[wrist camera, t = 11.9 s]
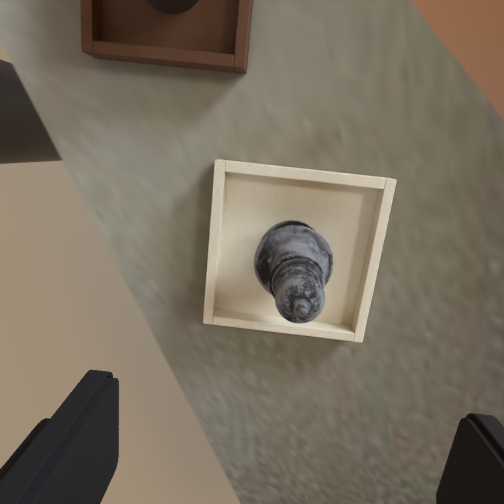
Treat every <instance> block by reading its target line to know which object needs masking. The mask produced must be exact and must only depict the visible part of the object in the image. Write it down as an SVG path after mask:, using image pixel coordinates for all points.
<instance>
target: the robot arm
mask: <svg viewBox="0 0 504 504" xmlns="http://www.w3.org/2000/svg"><path fill="white" fill-rule="evenodd" d="M118 453H119V381H118V379H117V378H113V375H112V373H111V372H107V371H98V370H89V371H88V372H87V373H86V374H85V376H84V377H83V378H82V379H81V381H80V382H79V383H78V384H77V386H76V387H75V388H74V389H73V391H72V392H71V393H70V394H69V396H68V397H67V398H66V399H65V401H64V402H63V403H62V405H61V406H60V407H59V408H58V410H57V411H56V412H55V414H54V415H53V416H52V417H51V418H50V419H47V418H45V419H43V420H41V422H40V423H38V424H37V425H36V427H35V428H34V429H33V430H32V431H31V433H30V434H29V435H28V437H27V438H26V439H25V440H24V441H23V442H22V444H21V445H20V446H19V448H18V449H17V450H16V451H15V452H14V453H13V454H12V456H11V457H10V458H9V460H8V461H7V462H6V463H5V464H4V465H3V467H2V468H1V469H0V504H100V503H101V501H102V498H103V496H104V494H105V492H106V490H107V487H108V485H109V483H110V481H111V479H112V477H113V475H114V472H115V470H116V467H117V462H118V456H119V454H118ZM436 502H437V504H504V427H503V425H502V424H501V423H500V422H499V421H498V420H497V419H496V418H495V417H494V416H491V415H482V414H474V413H470V414H468V415H467V416H466V418H462V419H461V420H460V422H459V425H458V428H457V431H456V434H455V438H454V441H453V444H452V447H451V450H450V453H449V456H448V459H447V462H446V465H445V469H444V472H443V475H442V478H441V481H440V484H439V487H438V490H437V494H436Z"/></svg>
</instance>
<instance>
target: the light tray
mask: <svg viewBox="0 0 504 504" xmlns="http://www.w3.org/2000/svg"><path fill="white" fill-rule="evenodd" d="M395 186H396V180H395V179H391V178H385V177H376V176H367V175H358V174H348V173H339V172H330V171H321V170H312V169H303V168H294V167H285V166H276V165H267V164H257V163H248V162H239V161H230V160H221V159H218V160H215V166H214V179H213V193H212V206H211V220H210V233H209V247H208V260H207V274H206V287H205V301H204V315H203V324H213V325H221V326H230V327H238V328H246V329H254V330H263V331H271V332H279V333H287V334H296V335H304V336H312V337H321V338H329V339H337V340H345V341H354V342H361V343H362V342H363V337H364V332H365V327H366V323H367V318H368V313H369V309H370V304H371V299H372V294H373V290H374V285H375V280H376V276H377V271H378V266H379V261H380V257H381V252H382V247H383V242H384V238H385V233H386V228H387V224H388V219H389V214H390V209H391V205H392V200H393V195H394V191H395ZM289 220H294V221H300V222H303V223H306V224H308V225H309V226H311V227H312V228H313V229H314V230H315V231H316V232H317V233H319V234H320V235H321V236H322V237H323V238H324V239H325V240H326V242H327V243H328V244H329V246H330V249H331V251H332V254H333V262H334V264H333V271H332V274H331V277H330V279H329V281H328V283H327V284H326V285H325V287H324V293H325V303H324V307H323V310H322V312H321V313H320V314H319V315H318V317H316V318H315V319H314V320H312V321H309V322H307V323H301V324H299V323H292V322H290V321H287V320H286V319H284V318H283V317H282V316H281V315H280V313H279V312H278V310H277V308H276V304H275V298H274V297H273V296H272V295H271V294H270V293H268V292H267V291H266V290H265V289H264V288H263V287H262V286H261V284H260V283H259V281H258V279H257V277H256V274H255V269H254V258H255V253H256V251H257V248H258V246H259V244H260V243H261V241H262V238H263V236H264V235H265V234H266V232H267V231H268V230H269V229H270V228H271V227H273V226H274V225H276V224H278V223H280V222H282V221H289Z"/></svg>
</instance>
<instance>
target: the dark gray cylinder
mask: <svg viewBox="0 0 504 504" xmlns="http://www.w3.org/2000/svg"><path fill="white" fill-rule="evenodd" d="M198 1H199V0H147V2H148V3H149V4H150V5H151V6H153V7H154V8H155V9H157V10H159V11H161V12H164V13H168V14H178V13H182V12H185V11H187V10H189V9H190V8H192V7H193V6H194V5H195V4H196V3H197V2H198Z"/></svg>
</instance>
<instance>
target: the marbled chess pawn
mask: <svg viewBox="0 0 504 504" xmlns="http://www.w3.org/2000/svg"><path fill="white" fill-rule="evenodd" d="M333 264H334V262H333V254H332V251H331V249H330V246H329V244H328V243H327V242H326V240H325V239H324V238H323V237H322V236H321V235H320V234H319V233H317V232H316V231H315V230H314V229H313V228H312V227H311V226H309V225H308V224H306V223H303V222H300V221H294V220H289V221H282V222H280V223H278V224H276V225H274V226H273V227H271V228H270V229H269V230H268V231H267V232H266V234H265V235H264V236H263V238H262V241H261V243H260V244H259V246H258V248H257V251H256V253H255V258H254V269H255V274H256V277H257V279H258V281H259V283H260V284H261V286H262V287H263V288H264V289H265V290H266V291H267V292H268V293H270V294H271V295H272V296H273V297H274V298H275V304H276V308H277V310H278V312H279V313H280V315H281V316H282V317H283V318H284V319H286V320H287V321H290V322H292V323H299V324H301V323H307V322H309V321H312V320H314V319H315V318H316V317H318V315H319V314H320V313H321V312H322V310H323V307H324V303H325V293H324V287H325V285H326V284H327V283H328V281H329V279H330V277H331V274H332V271H333Z"/></svg>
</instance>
